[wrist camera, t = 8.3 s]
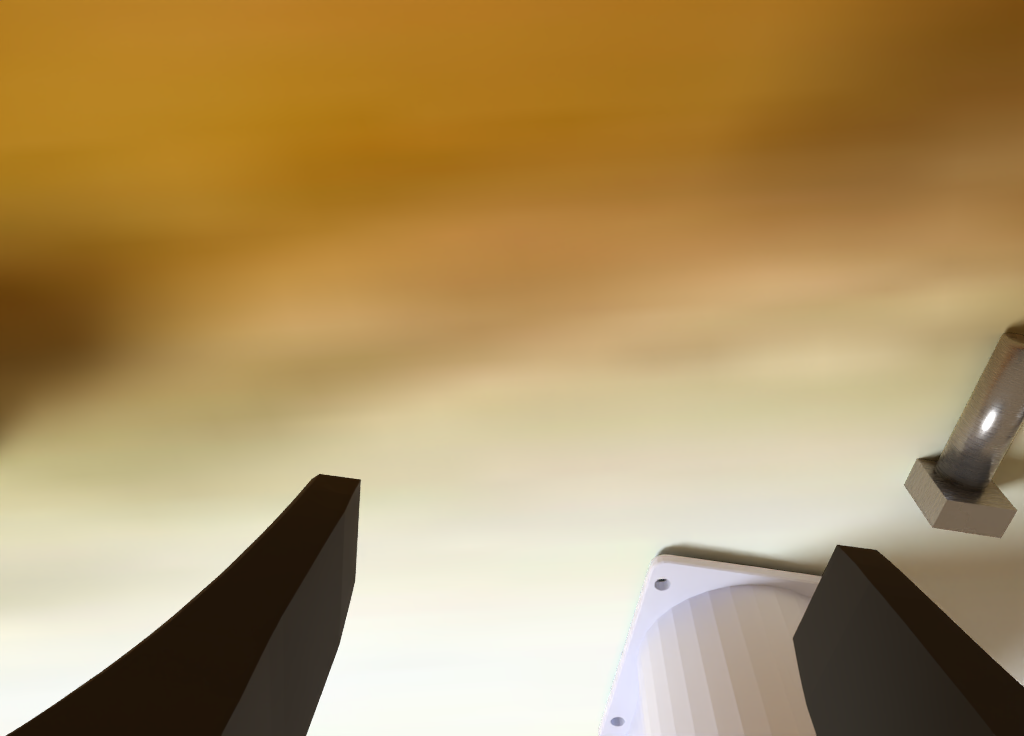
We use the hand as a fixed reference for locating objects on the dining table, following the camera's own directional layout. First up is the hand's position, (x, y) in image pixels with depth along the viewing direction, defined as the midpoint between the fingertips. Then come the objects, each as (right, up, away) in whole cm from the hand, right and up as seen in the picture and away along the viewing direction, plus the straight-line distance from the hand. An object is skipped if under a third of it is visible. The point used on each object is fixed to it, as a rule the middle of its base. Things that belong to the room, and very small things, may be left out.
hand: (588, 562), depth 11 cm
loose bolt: (+12, +2, +10) cm, 16 cm away
